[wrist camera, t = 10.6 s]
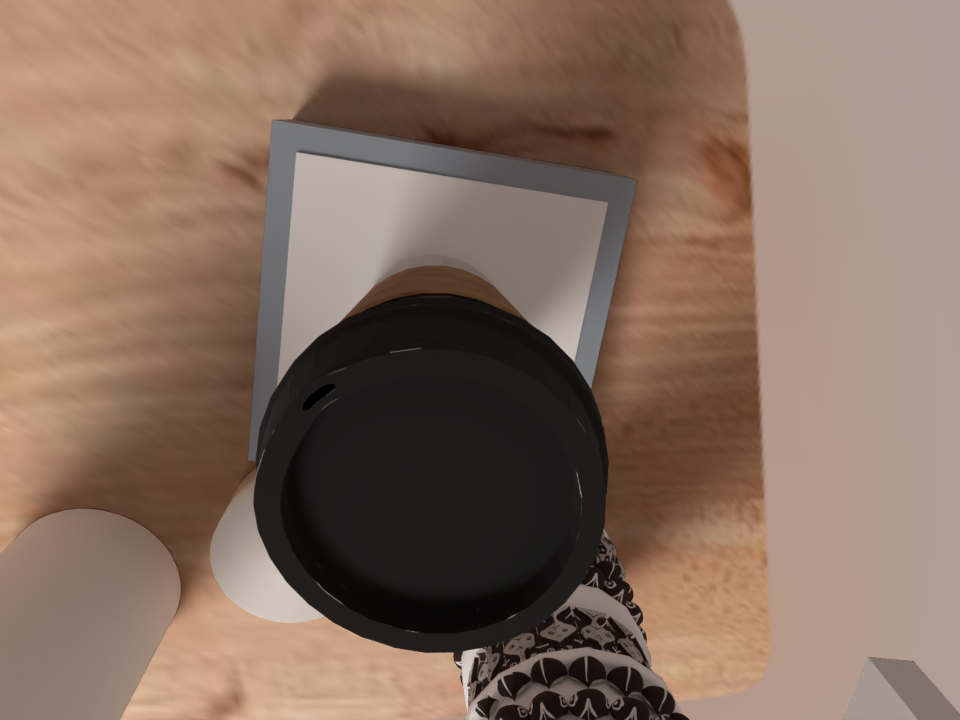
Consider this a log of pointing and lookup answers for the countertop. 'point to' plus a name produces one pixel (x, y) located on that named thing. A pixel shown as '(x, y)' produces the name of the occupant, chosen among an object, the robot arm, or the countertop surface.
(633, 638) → the decorative candle
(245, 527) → the white dome
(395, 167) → the podium
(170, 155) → the countertop surface
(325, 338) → the coffee cup
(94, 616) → the container
